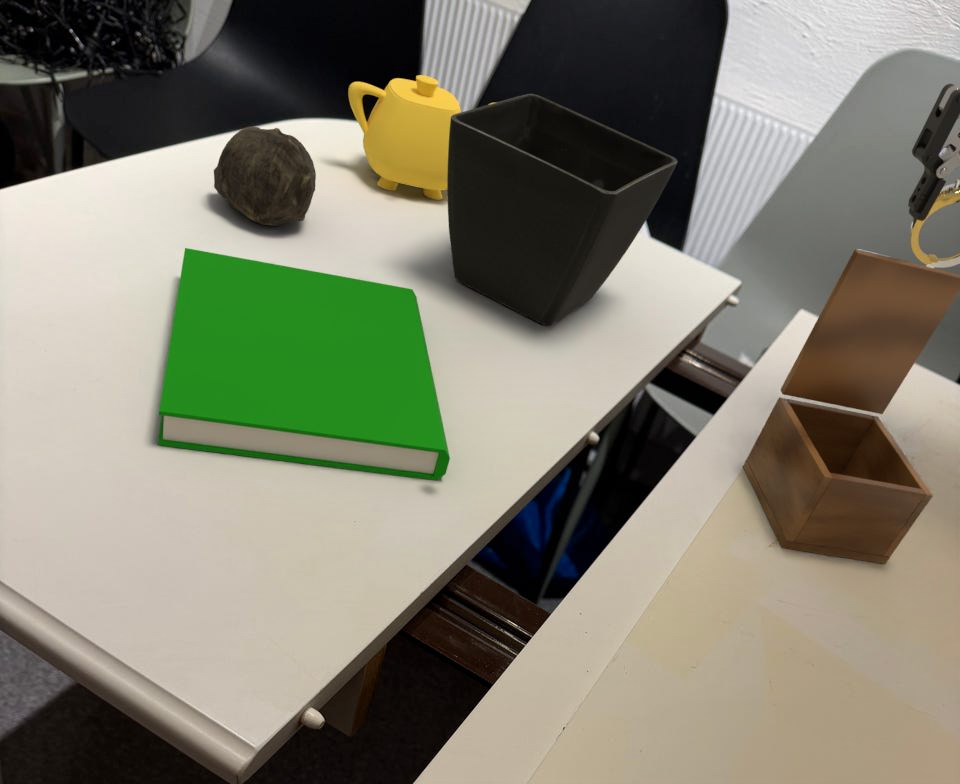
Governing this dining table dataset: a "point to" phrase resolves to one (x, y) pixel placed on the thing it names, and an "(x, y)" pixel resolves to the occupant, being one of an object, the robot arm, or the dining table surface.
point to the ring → (941, 201)
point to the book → (300, 369)
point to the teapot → (407, 132)
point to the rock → (266, 176)
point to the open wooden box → (834, 482)
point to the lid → (871, 332)
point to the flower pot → (544, 202)
